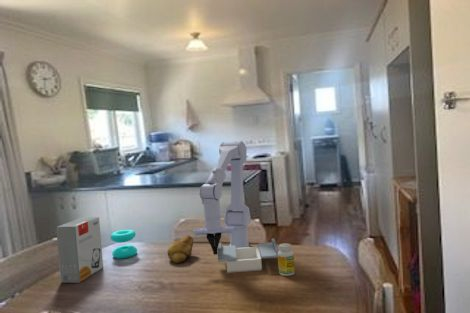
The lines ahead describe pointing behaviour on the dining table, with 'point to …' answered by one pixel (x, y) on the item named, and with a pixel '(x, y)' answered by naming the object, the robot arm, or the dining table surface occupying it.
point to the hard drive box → (79, 249)
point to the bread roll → (180, 249)
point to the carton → (245, 260)
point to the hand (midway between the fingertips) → (215, 253)
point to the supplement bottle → (286, 260)
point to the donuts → (123, 250)
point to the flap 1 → (226, 253)
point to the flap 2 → (268, 249)
